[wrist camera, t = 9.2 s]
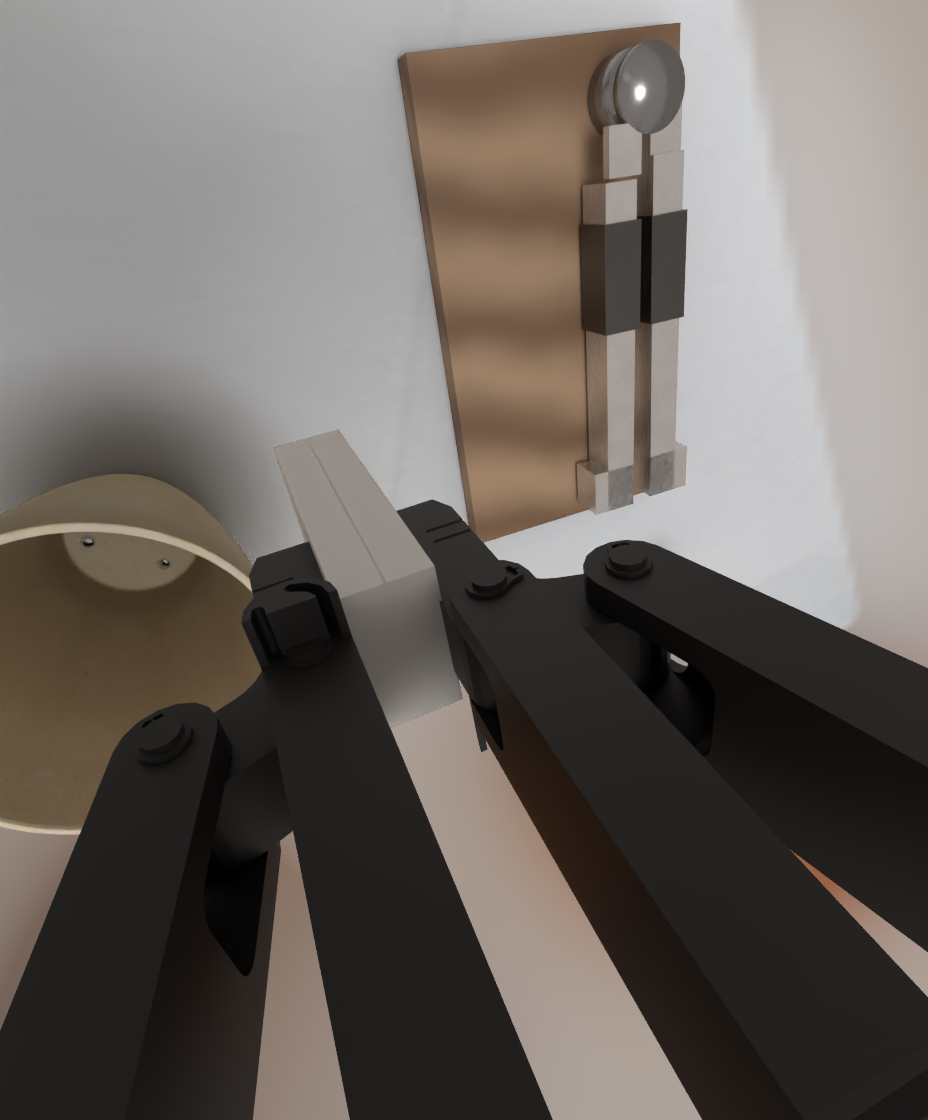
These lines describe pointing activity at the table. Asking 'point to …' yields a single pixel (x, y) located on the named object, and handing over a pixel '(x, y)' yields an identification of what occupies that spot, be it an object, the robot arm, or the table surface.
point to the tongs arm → (619, 270)
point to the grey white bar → (654, 289)
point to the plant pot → (108, 633)
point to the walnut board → (512, 257)
